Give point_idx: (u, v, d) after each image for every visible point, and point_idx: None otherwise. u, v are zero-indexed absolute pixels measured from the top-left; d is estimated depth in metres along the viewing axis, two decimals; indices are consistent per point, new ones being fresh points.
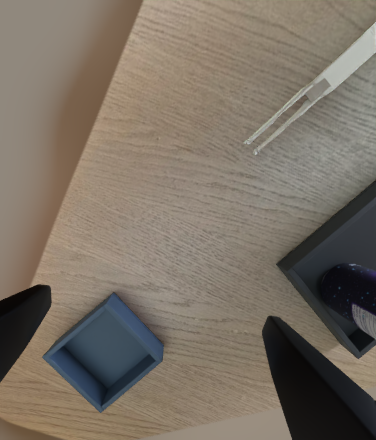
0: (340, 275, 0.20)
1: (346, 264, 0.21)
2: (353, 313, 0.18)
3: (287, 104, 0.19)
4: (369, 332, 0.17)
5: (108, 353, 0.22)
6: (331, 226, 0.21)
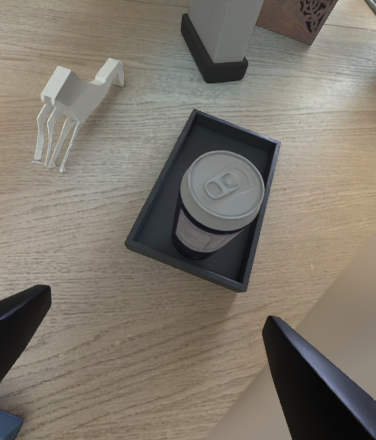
0: None
1: None
2: (181, 241, 0.18)
3: (63, 129, 0.24)
4: (193, 245, 0.17)
5: None
6: None
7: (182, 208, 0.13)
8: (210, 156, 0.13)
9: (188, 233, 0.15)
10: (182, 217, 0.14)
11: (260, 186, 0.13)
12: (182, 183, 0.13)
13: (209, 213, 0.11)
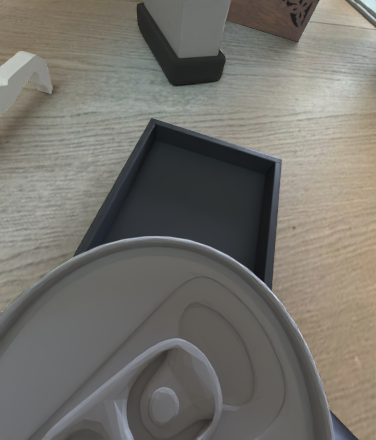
0: None
1: None
2: None
3: None
4: None
5: None
6: None
7: None
8: (98, 263, 0.03)
9: None
10: None
11: (307, 389, 0.03)
12: None
13: None
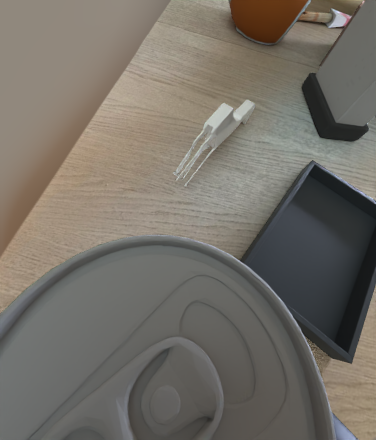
0: None
1: None
2: None
3: (198, 151, 0.27)
4: None
5: None
6: (263, 229, 0.24)
7: None
8: (99, 261, 0.03)
9: None
10: None
11: (308, 387, 0.03)
12: None
13: None
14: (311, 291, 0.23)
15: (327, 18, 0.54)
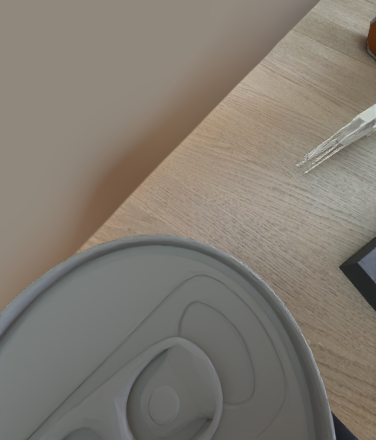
0: None
1: None
2: None
3: (327, 145, 0.27)
4: None
5: None
6: None
7: None
8: (98, 261, 0.03)
9: None
10: None
11: (307, 387, 0.03)
12: None
13: None
14: None
15: None
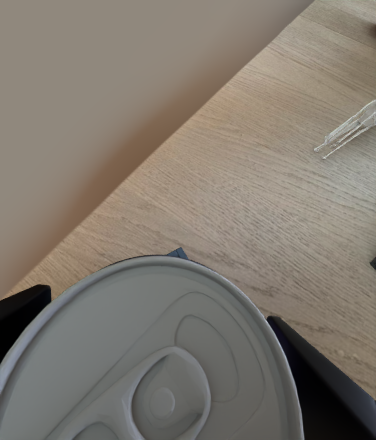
0: None
1: None
2: None
3: (348, 126, 0.24)
4: None
5: None
6: None
7: None
8: (106, 281, 0.04)
9: None
10: None
11: (282, 388, 0.04)
12: None
13: None
14: None
15: None
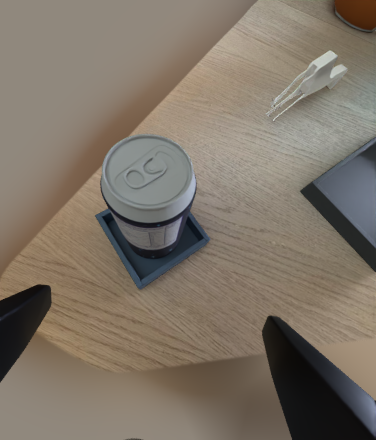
0: None
1: None
2: (128, 241, 0.16)
3: (291, 94, 0.31)
4: (139, 244, 0.15)
5: None
6: None
7: None
8: (131, 141, 0.12)
9: (126, 232, 0.13)
10: (112, 214, 0.12)
11: (189, 168, 0.11)
12: (102, 176, 0.11)
13: (129, 205, 0.10)
14: (367, 222, 0.26)
15: None
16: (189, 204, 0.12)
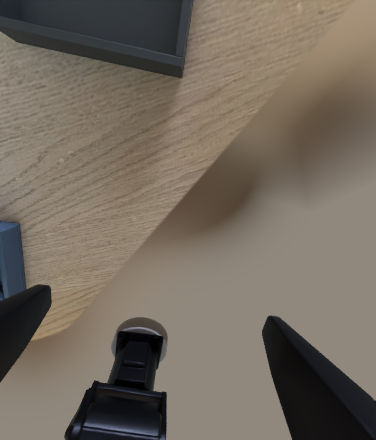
0: None
1: None
2: None
3: None
4: None
5: None
6: None
7: None
8: None
9: None
10: None
11: None
12: None
13: None
14: None
15: None
16: None
